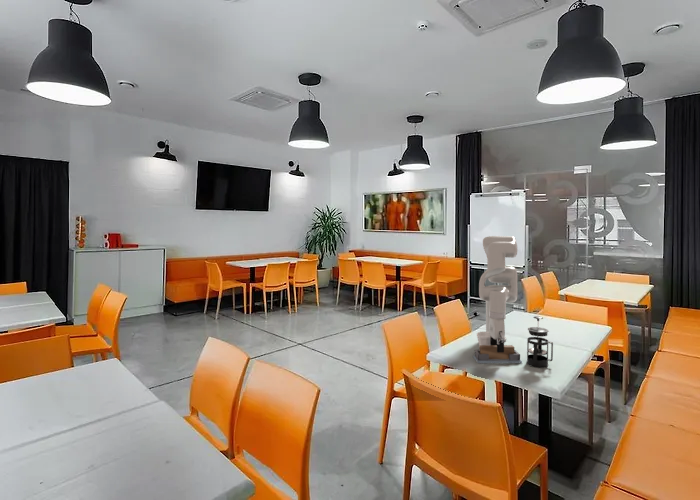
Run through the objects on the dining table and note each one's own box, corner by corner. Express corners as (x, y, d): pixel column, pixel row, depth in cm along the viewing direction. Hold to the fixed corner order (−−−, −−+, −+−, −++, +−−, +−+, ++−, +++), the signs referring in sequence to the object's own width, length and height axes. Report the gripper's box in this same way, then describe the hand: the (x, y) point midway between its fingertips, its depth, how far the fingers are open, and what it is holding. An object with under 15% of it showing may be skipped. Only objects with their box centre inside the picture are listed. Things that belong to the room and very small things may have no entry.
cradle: (473, 357, 195) (473, 349, 195) (515, 357, 194) (515, 349, 194) (477, 363, 187) (477, 355, 187) (521, 363, 186) (521, 354, 186)
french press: (522, 364, 184) (523, 317, 183) (527, 359, 192) (528, 313, 190) (549, 370, 177) (551, 320, 175) (554, 364, 184) (555, 316, 183)
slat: (479, 357, 193) (479, 345, 192) (511, 357, 192) (512, 345, 191) (481, 359, 190) (481, 347, 189) (514, 359, 189) (514, 347, 188)
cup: (496, 349, 207) (496, 332, 206) (497, 355, 197) (497, 337, 197) (476, 347, 210) (476, 330, 209) (476, 353, 201) (476, 336, 200)
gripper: (484, 310, 198) (483, 342, 200) (495, 319, 181) (495, 355, 182) (499, 310, 198) (498, 342, 199) (511, 319, 181) (511, 355, 182)
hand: (496, 348), depth 191 cm, fingers open, 9 cm apart
